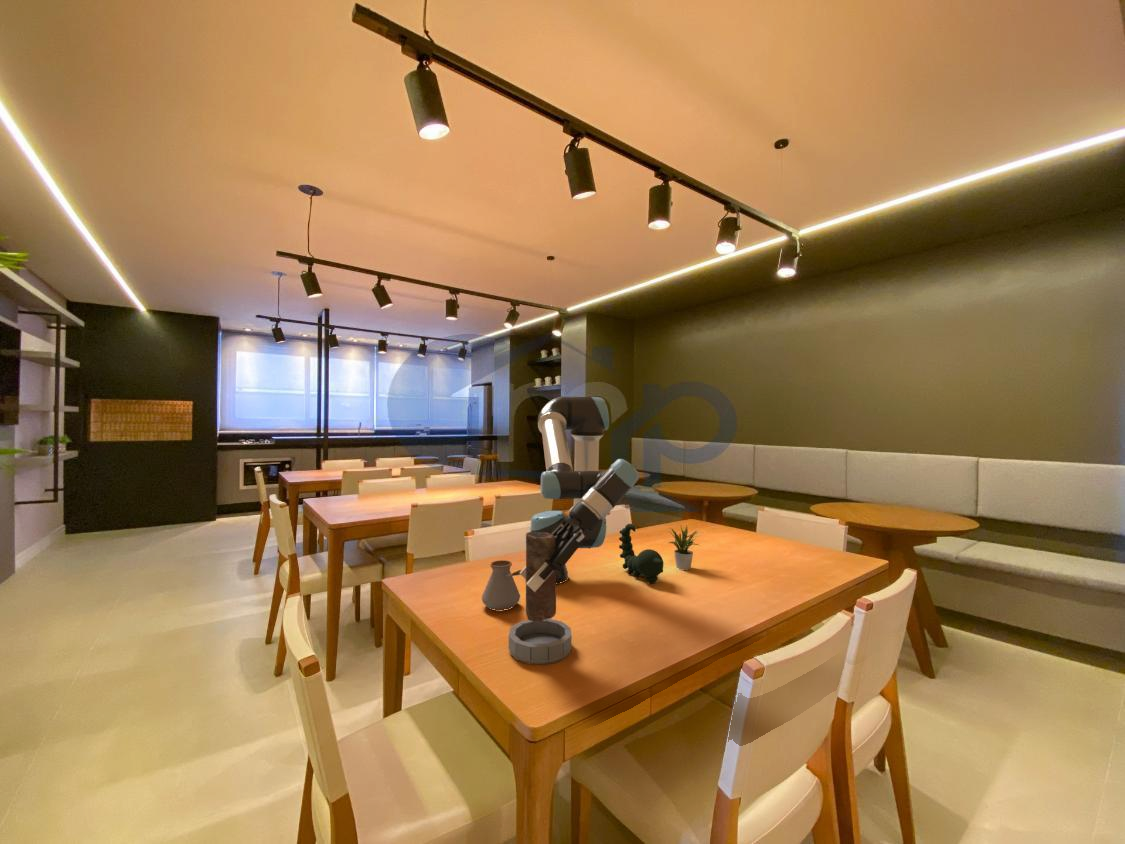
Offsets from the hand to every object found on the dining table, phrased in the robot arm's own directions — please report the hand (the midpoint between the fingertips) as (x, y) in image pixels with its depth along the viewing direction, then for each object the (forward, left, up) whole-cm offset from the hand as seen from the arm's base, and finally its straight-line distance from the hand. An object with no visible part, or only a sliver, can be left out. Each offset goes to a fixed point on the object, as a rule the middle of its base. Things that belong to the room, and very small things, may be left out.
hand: (526, 582), depth 107 cm
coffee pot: (-17, +17, -17) cm, 29 cm away
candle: (+2, +2, -9) cm, 9 cm away
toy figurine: (+7, +65, -17) cm, 67 cm away
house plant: (+19, +82, -17) cm, 86 cm away
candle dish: (+2, +3, -17) cm, 17 cm away
